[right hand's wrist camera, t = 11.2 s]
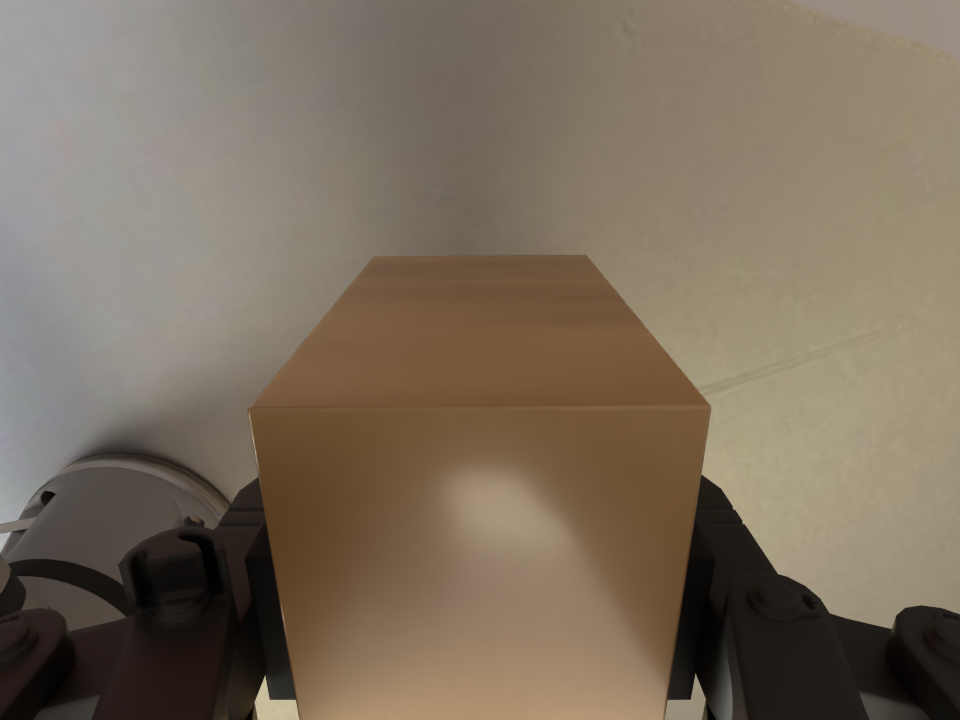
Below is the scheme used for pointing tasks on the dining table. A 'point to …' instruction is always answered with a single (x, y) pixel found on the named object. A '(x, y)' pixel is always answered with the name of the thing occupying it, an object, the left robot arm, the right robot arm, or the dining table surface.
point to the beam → (480, 496)
